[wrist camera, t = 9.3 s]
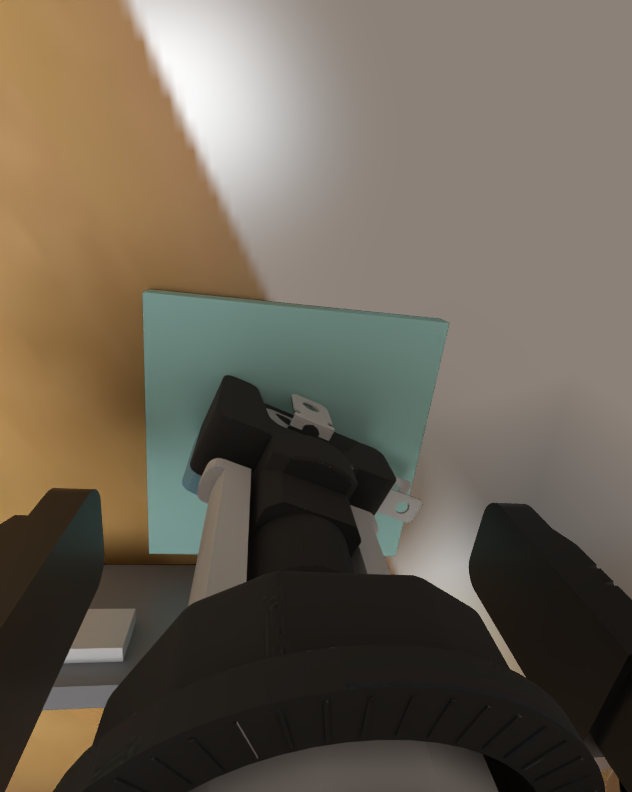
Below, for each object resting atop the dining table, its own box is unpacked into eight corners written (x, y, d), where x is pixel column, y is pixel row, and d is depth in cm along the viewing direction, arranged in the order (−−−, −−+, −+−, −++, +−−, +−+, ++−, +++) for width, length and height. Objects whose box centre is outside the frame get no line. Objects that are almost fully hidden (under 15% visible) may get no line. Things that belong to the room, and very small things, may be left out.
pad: (440, 318, 12) (449, 322, 12) (390, 544, 15) (395, 556, 14) (148, 289, 11) (142, 291, 10) (153, 540, 14) (148, 553, 13)
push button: (444, 414, 13) (956, 927, 3) (359, 549, 14) (548, 1166, 5) (234, 318, 11) (73, 834, 2) (162, 483, 12) (-144, 1256, 3)
